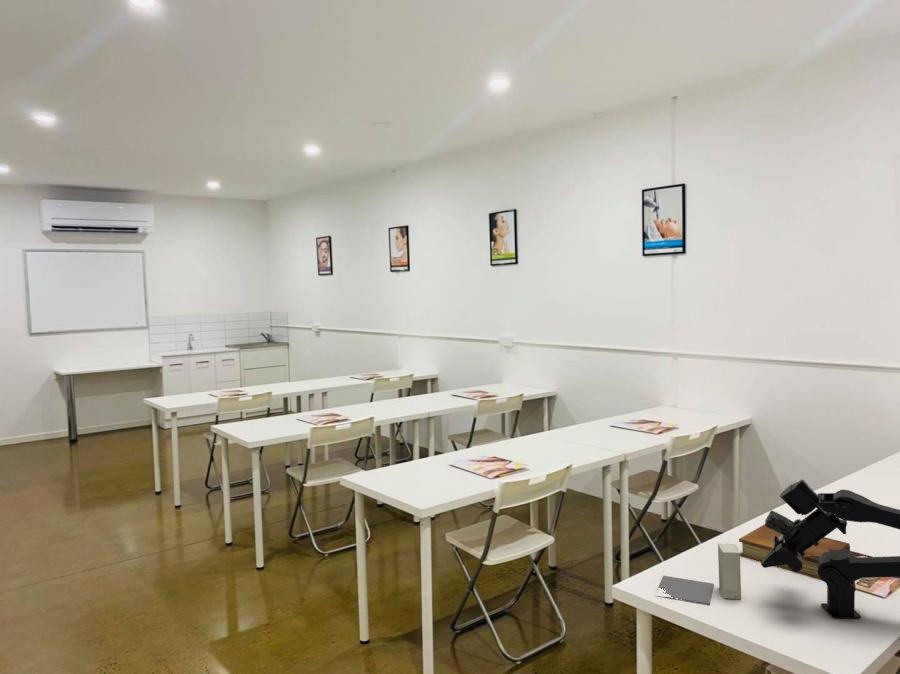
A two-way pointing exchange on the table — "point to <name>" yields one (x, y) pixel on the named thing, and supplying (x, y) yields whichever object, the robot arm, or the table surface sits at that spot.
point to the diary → (763, 542)
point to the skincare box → (729, 571)
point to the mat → (687, 589)
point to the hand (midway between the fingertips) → (762, 565)
